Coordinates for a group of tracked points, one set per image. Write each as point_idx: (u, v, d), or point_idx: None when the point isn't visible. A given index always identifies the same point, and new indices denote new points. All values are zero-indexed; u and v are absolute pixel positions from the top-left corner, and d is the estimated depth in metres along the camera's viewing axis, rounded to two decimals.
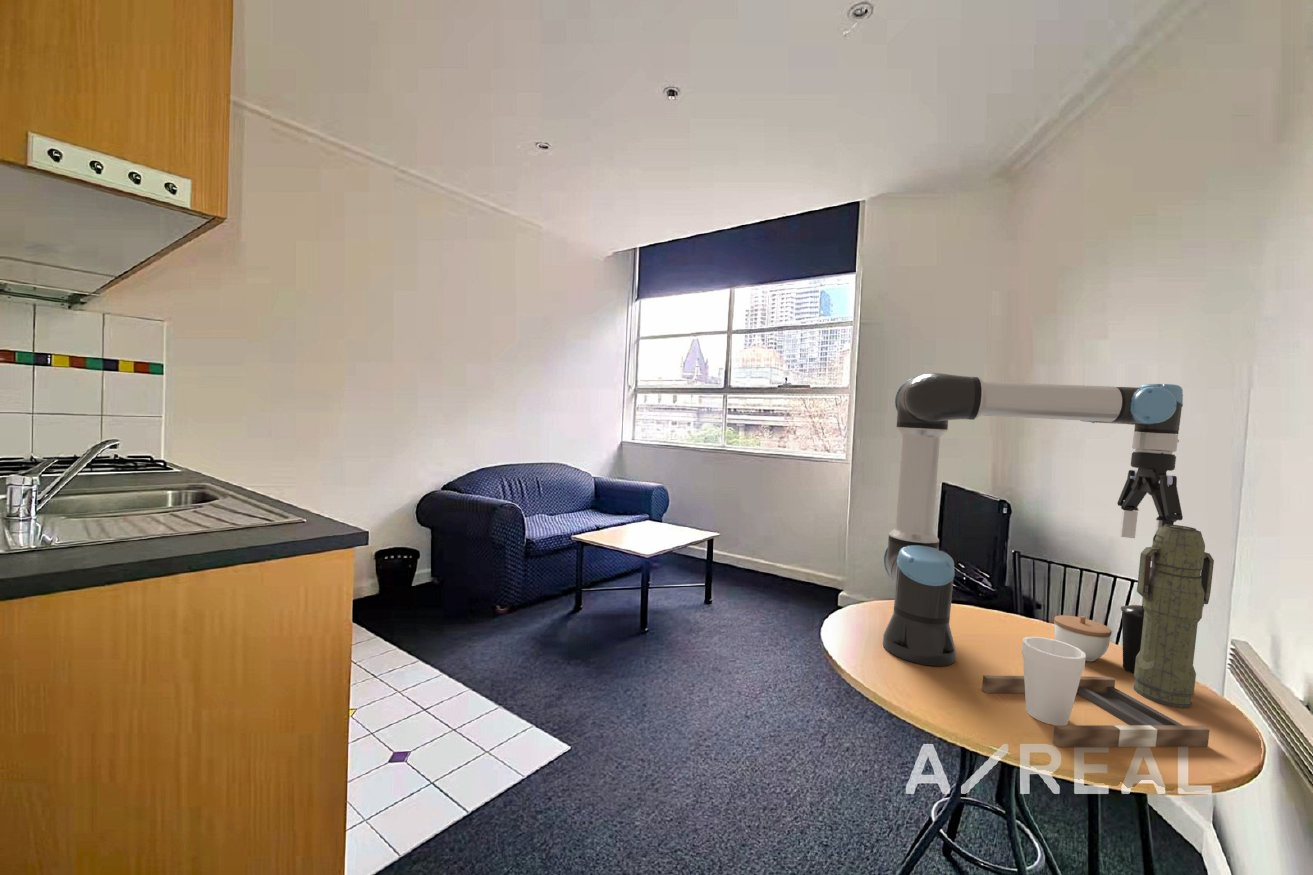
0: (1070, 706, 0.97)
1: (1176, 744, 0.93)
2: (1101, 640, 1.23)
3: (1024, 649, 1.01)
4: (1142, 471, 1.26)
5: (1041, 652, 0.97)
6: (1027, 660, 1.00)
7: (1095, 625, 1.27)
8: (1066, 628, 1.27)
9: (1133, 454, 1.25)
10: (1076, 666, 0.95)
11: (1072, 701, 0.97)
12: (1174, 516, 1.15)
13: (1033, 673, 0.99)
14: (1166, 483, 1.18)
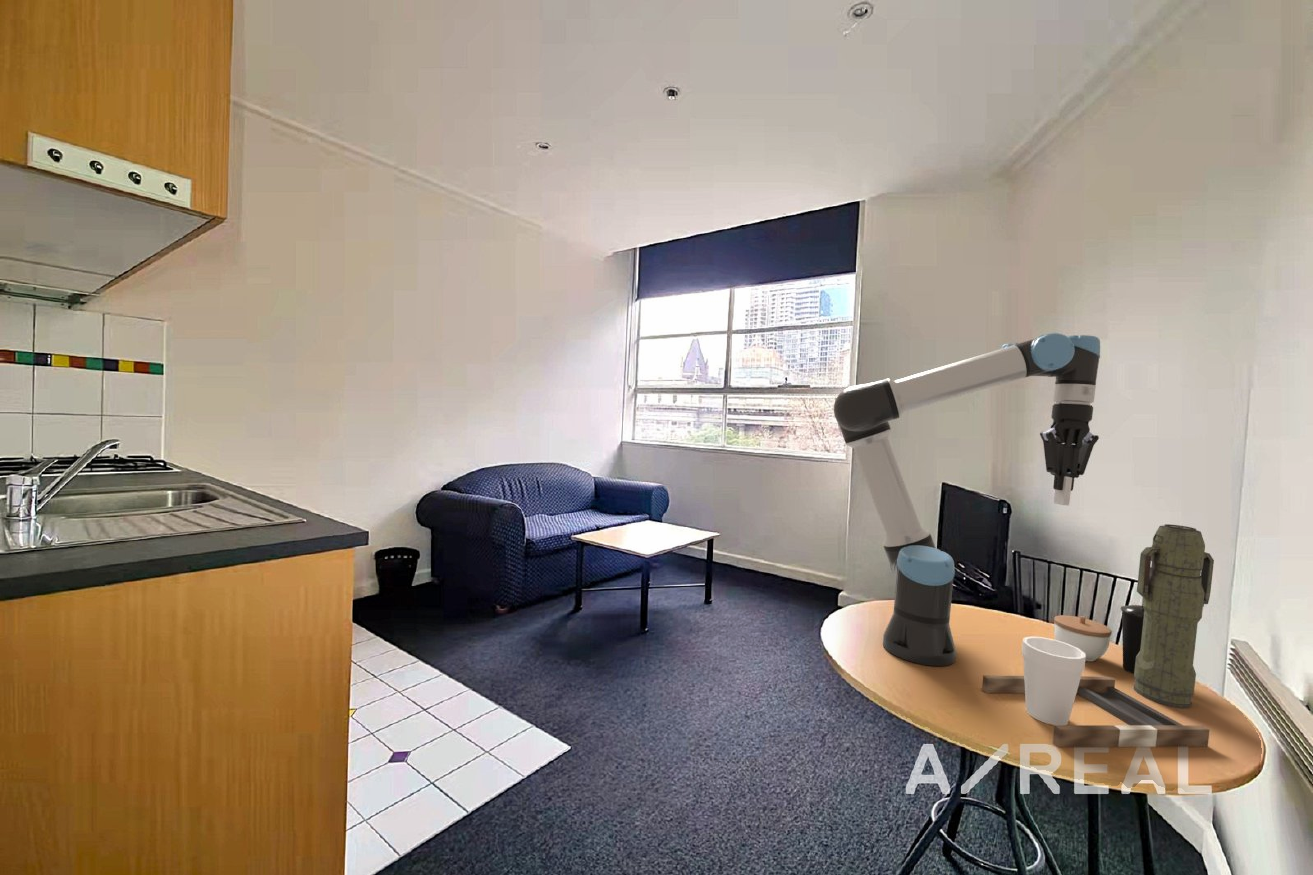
0: (1070, 706, 0.97)
1: (1176, 744, 0.93)
2: (1101, 640, 1.23)
3: (1024, 649, 1.01)
4: None
5: (1041, 652, 0.97)
6: (1027, 660, 1.00)
7: (1095, 625, 1.27)
8: (1066, 628, 1.27)
9: None
10: (1077, 666, 0.95)
11: (1072, 701, 0.97)
12: (1049, 471, 1.26)
13: (1033, 673, 0.99)
14: (1044, 439, 1.26)
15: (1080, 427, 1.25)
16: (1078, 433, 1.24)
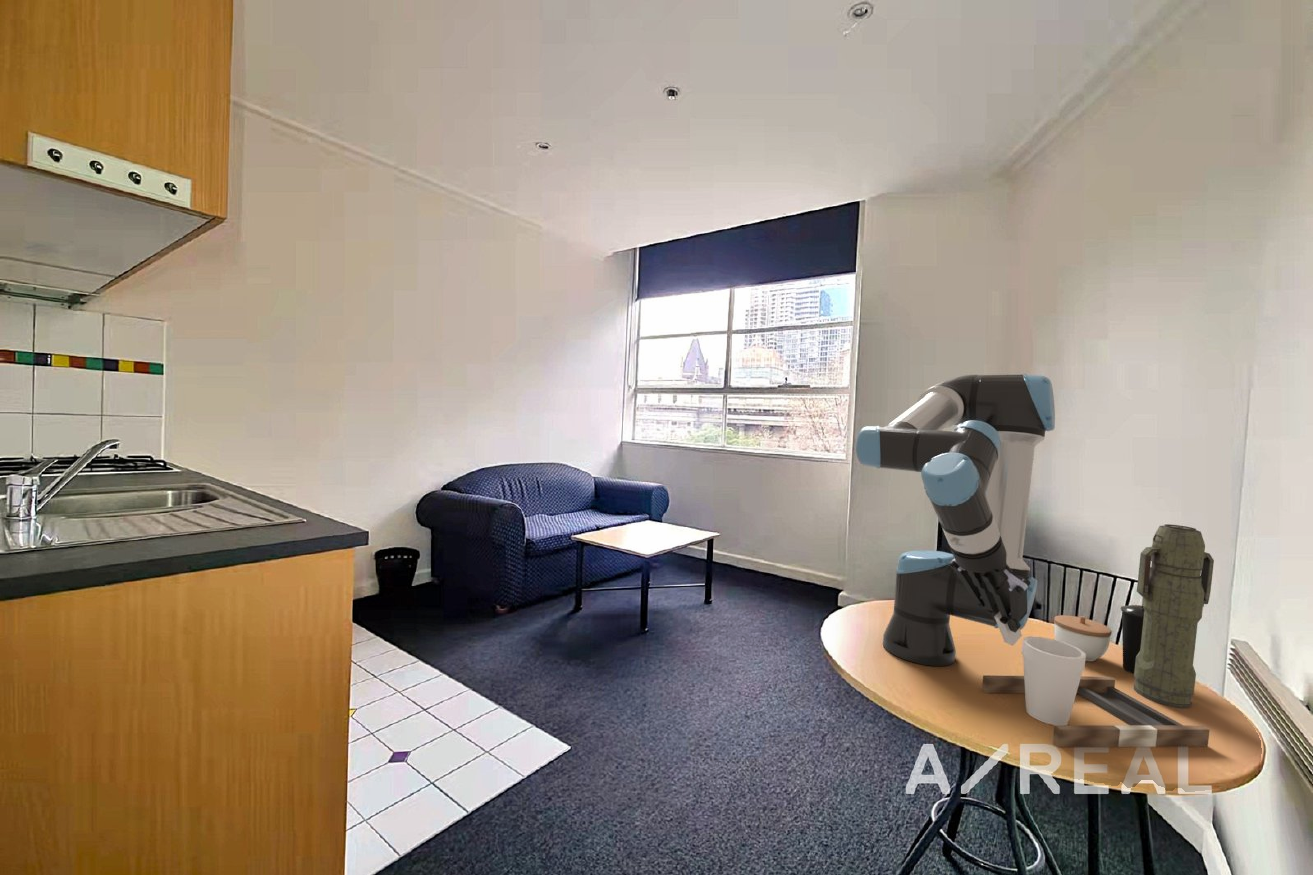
0: (1070, 706, 0.97)
1: (1176, 744, 0.93)
2: (1101, 640, 1.23)
3: (1024, 649, 1.01)
4: None
5: (1041, 652, 0.97)
6: (1027, 660, 1.00)
7: (1095, 625, 1.27)
8: (1066, 628, 1.27)
9: None
10: (1077, 666, 0.95)
11: (1072, 701, 0.97)
12: None
13: (1033, 673, 0.99)
14: None
15: (988, 571, 0.88)
16: None
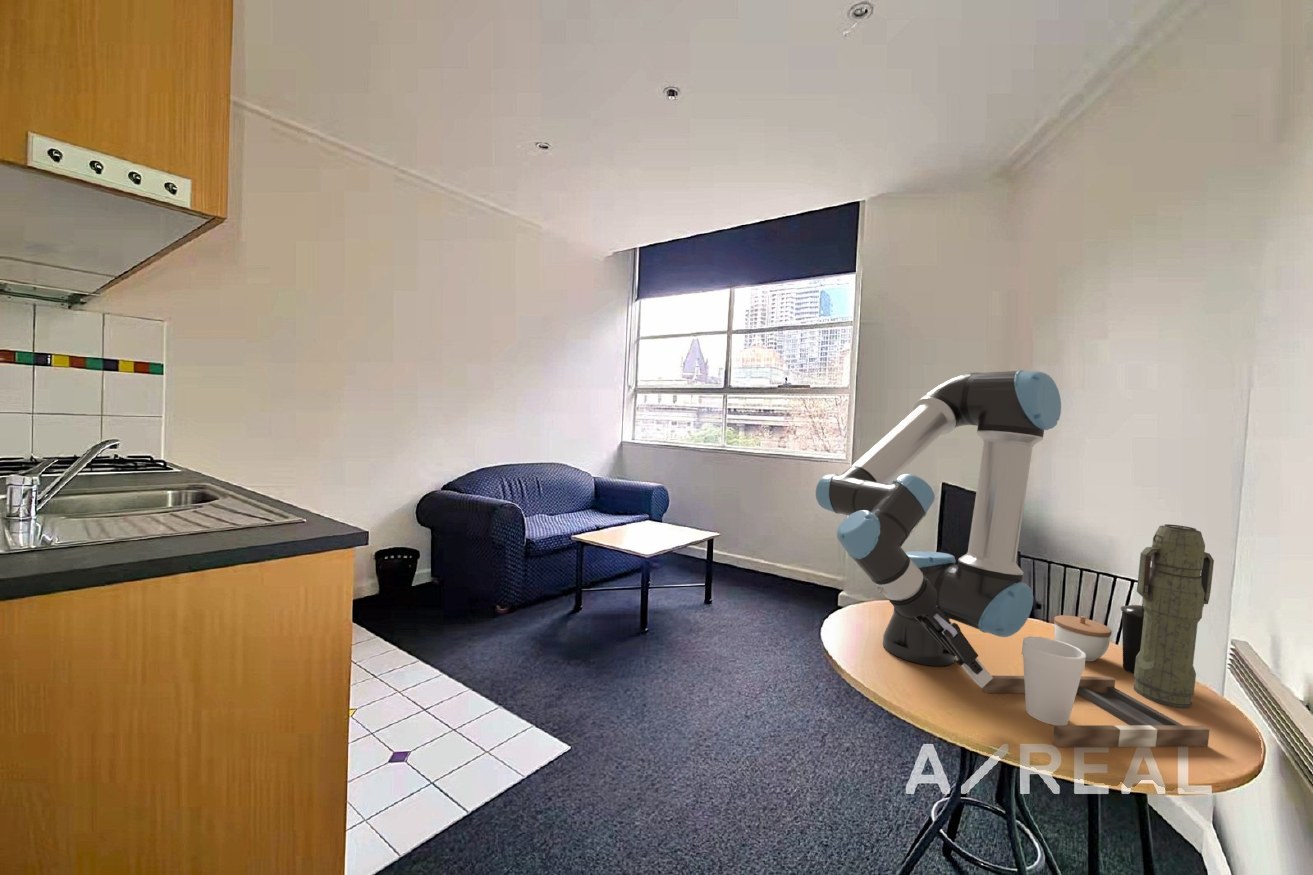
0: (1070, 706, 0.97)
1: (1176, 744, 0.93)
2: (1101, 640, 1.23)
3: (1024, 649, 1.01)
4: None
5: (1041, 652, 0.97)
6: (1027, 660, 1.00)
7: (1095, 625, 1.27)
8: (1066, 628, 1.27)
9: None
10: (1077, 666, 0.95)
11: (1072, 701, 0.97)
12: None
13: (1033, 673, 0.99)
14: None
15: (924, 616, 0.95)
16: None
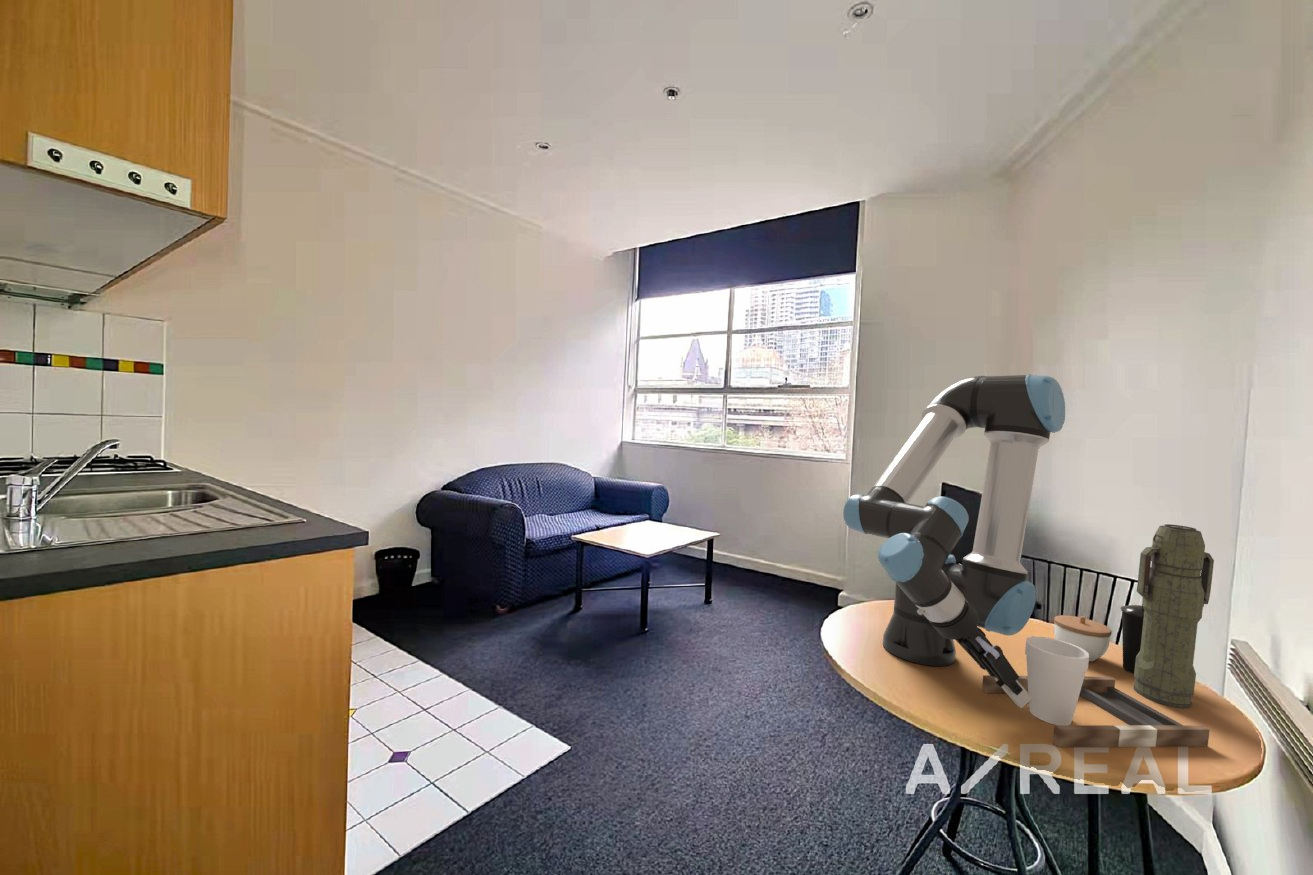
0: (1073, 706, 0.97)
1: (1176, 744, 0.93)
2: (1101, 640, 1.23)
3: (1027, 649, 1.01)
4: None
5: (1045, 652, 0.97)
6: (1030, 660, 1.00)
7: (1095, 625, 1.27)
8: (1066, 628, 1.27)
9: (964, 598, 0.96)
10: (1080, 666, 0.95)
11: (1076, 701, 0.97)
12: None
13: (1036, 673, 0.99)
14: None
15: (965, 638, 0.95)
16: None
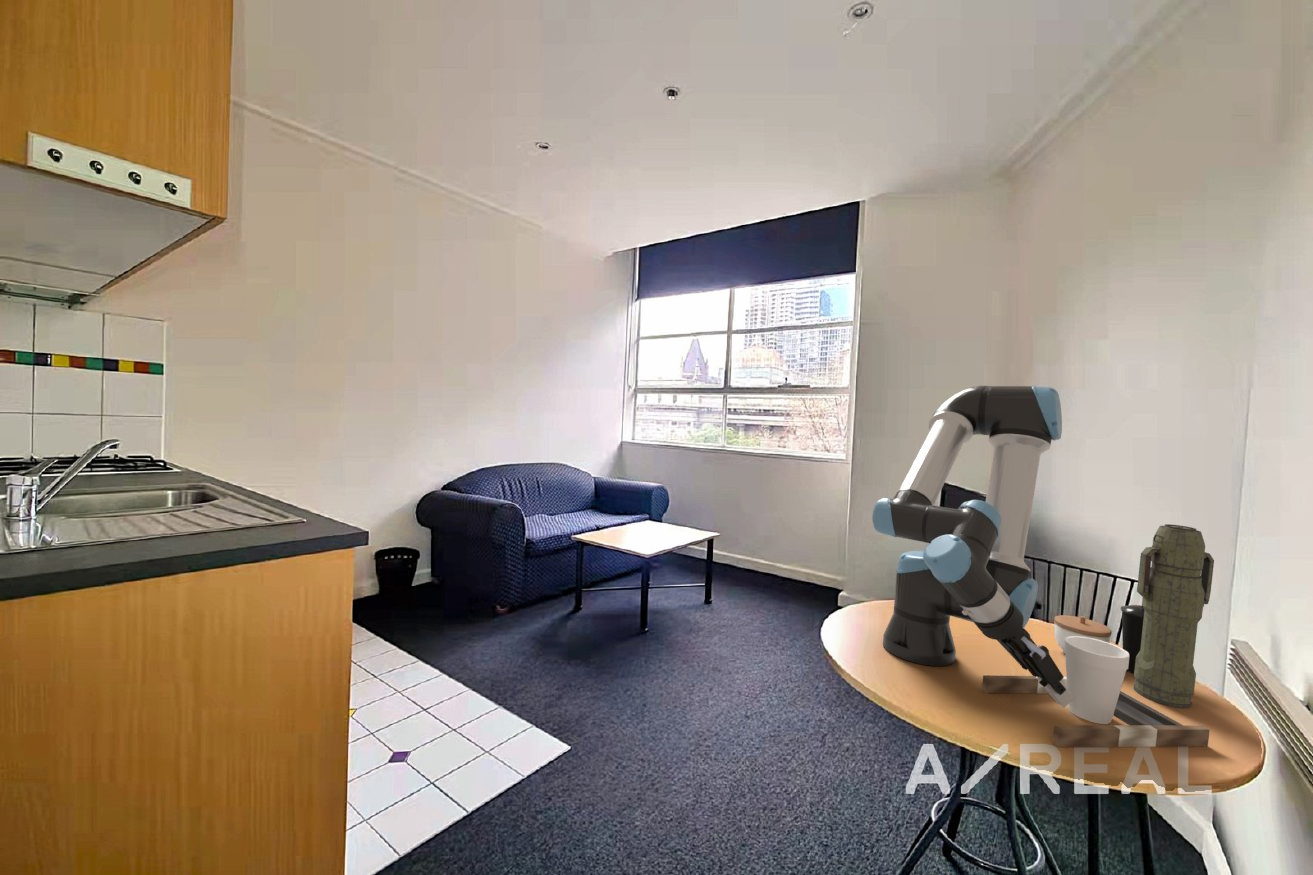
0: (1114, 705, 0.98)
1: (1176, 744, 0.93)
2: (1101, 640, 1.23)
3: (1066, 648, 1.02)
4: None
5: (1084, 651, 0.99)
6: (1070, 659, 1.01)
7: (1095, 625, 1.27)
8: (1066, 628, 1.27)
9: None
10: (1120, 665, 0.96)
11: (1116, 700, 0.98)
12: None
13: (1076, 672, 1.00)
14: None
15: (1010, 638, 0.97)
16: None
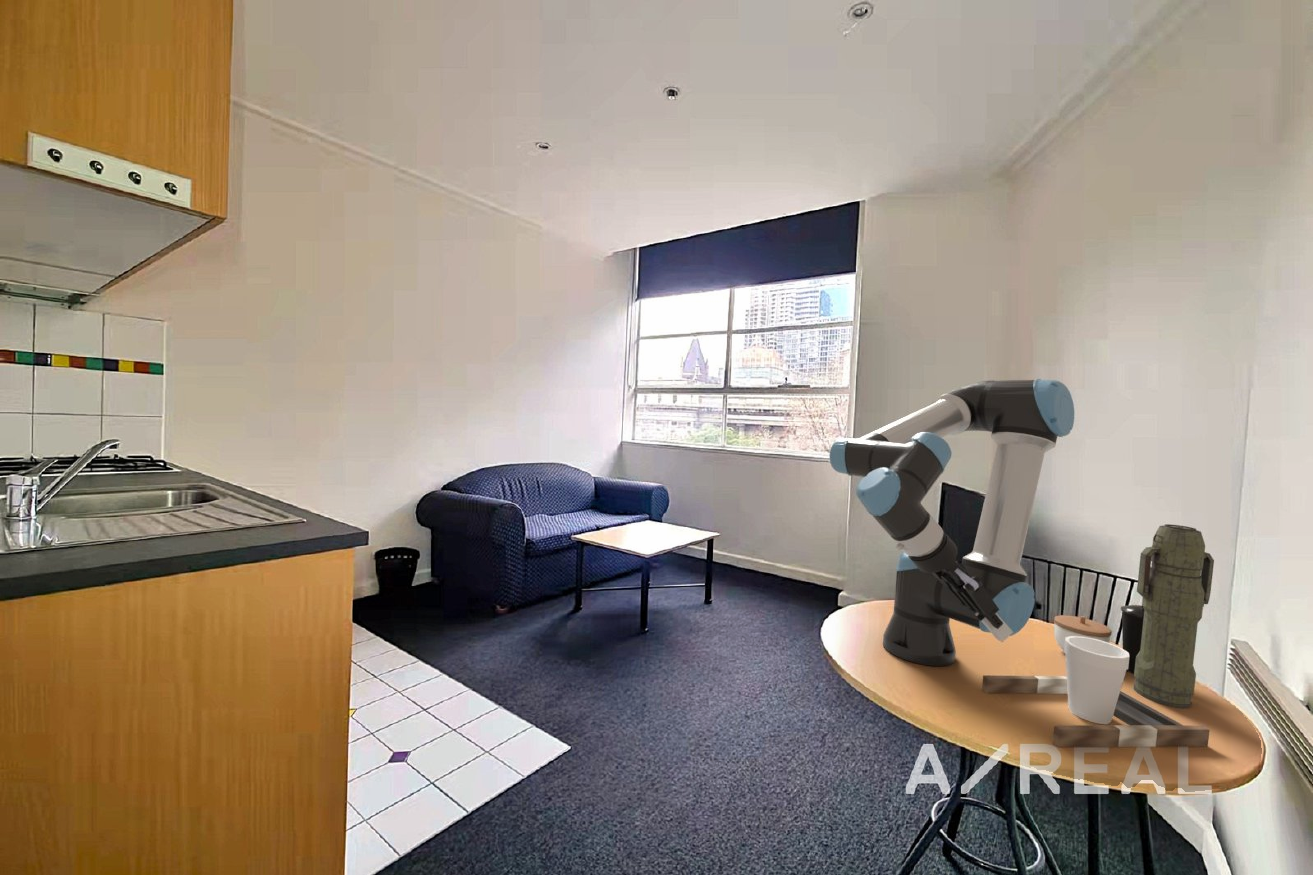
0: (1113, 705, 0.98)
1: (1176, 744, 0.93)
2: (1101, 640, 1.23)
3: (1066, 648, 1.02)
4: None
5: (1084, 651, 0.99)
6: (1070, 659, 1.01)
7: (1095, 625, 1.27)
8: (1066, 628, 1.27)
9: None
10: (1120, 665, 0.96)
11: (1116, 700, 0.98)
12: None
13: (1076, 672, 1.00)
14: None
15: (944, 571, 0.95)
16: None
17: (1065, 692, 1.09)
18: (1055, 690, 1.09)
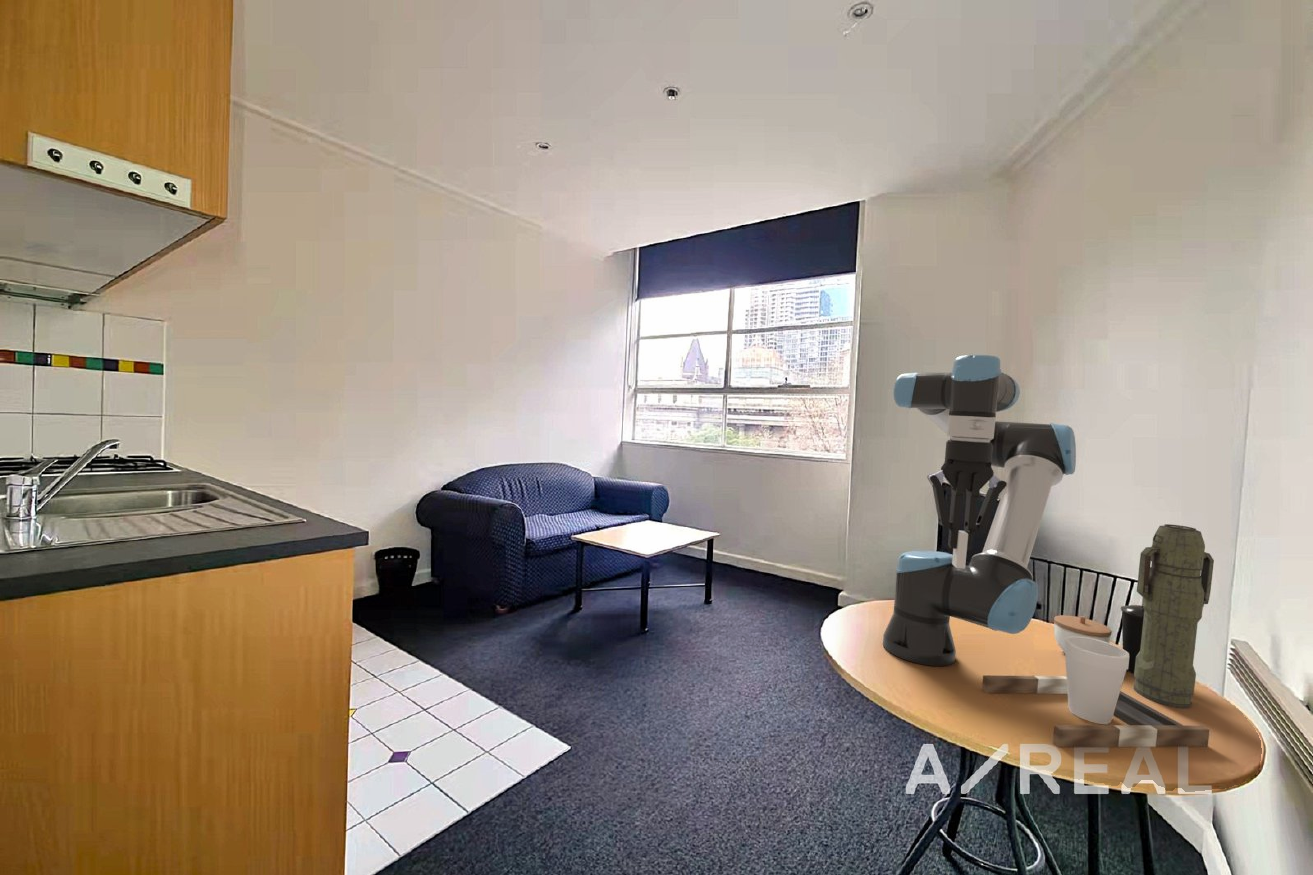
0: (1113, 705, 0.98)
1: (1176, 744, 0.93)
2: (1101, 640, 1.23)
3: (1066, 648, 1.02)
4: None
5: (1084, 651, 0.99)
6: (1070, 659, 1.01)
7: (1095, 625, 1.27)
8: (1066, 628, 1.27)
9: None
10: (1120, 665, 0.96)
11: (1116, 700, 0.98)
12: (940, 523, 1.02)
13: (1076, 672, 1.00)
14: (932, 484, 1.02)
15: (978, 470, 0.99)
16: (973, 478, 0.98)
17: (1065, 692, 1.09)
18: (1055, 690, 1.09)
